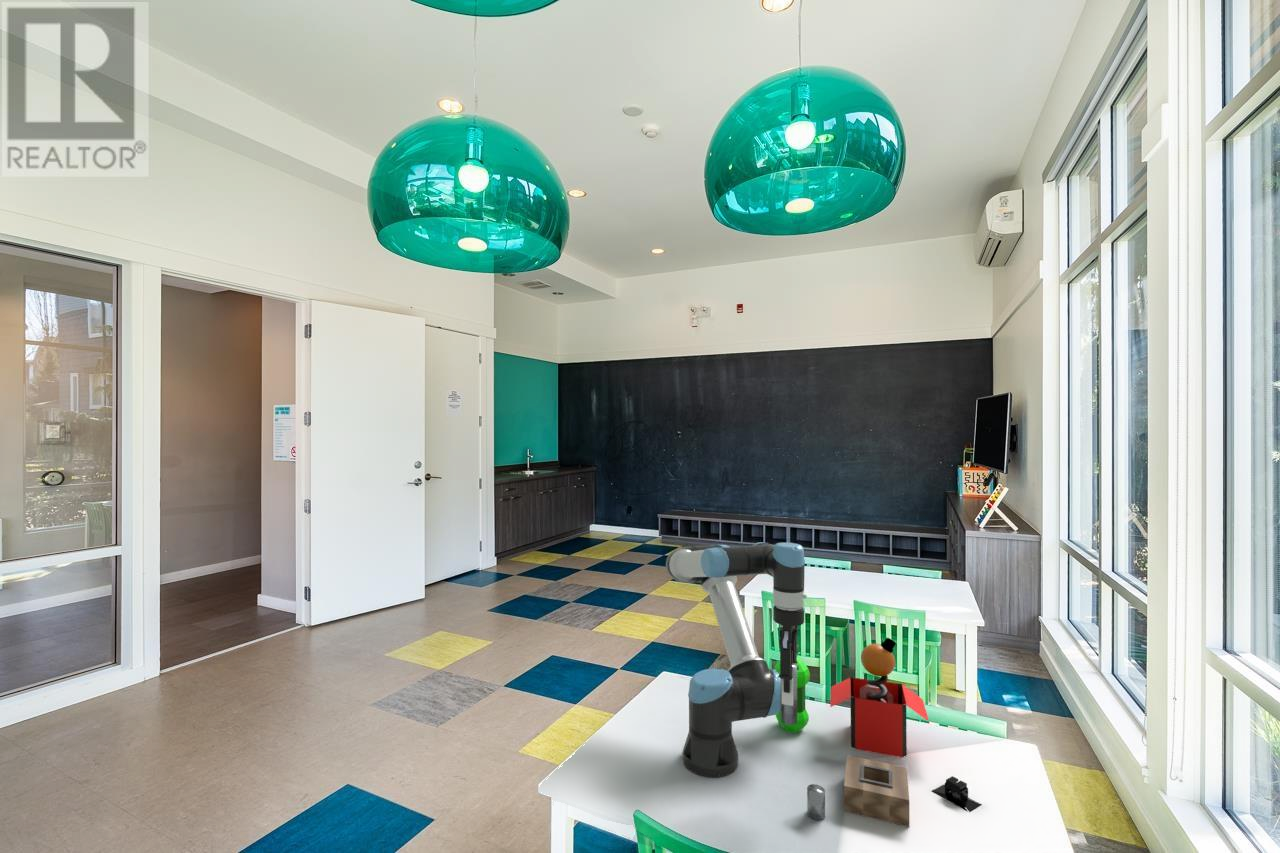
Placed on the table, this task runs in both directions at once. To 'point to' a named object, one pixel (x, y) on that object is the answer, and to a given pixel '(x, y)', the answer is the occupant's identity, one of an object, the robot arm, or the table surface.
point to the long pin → (791, 711)
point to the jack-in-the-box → (878, 704)
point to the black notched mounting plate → (956, 794)
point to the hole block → (876, 790)
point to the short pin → (816, 802)
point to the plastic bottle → (802, 680)
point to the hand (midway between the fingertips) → (788, 700)
